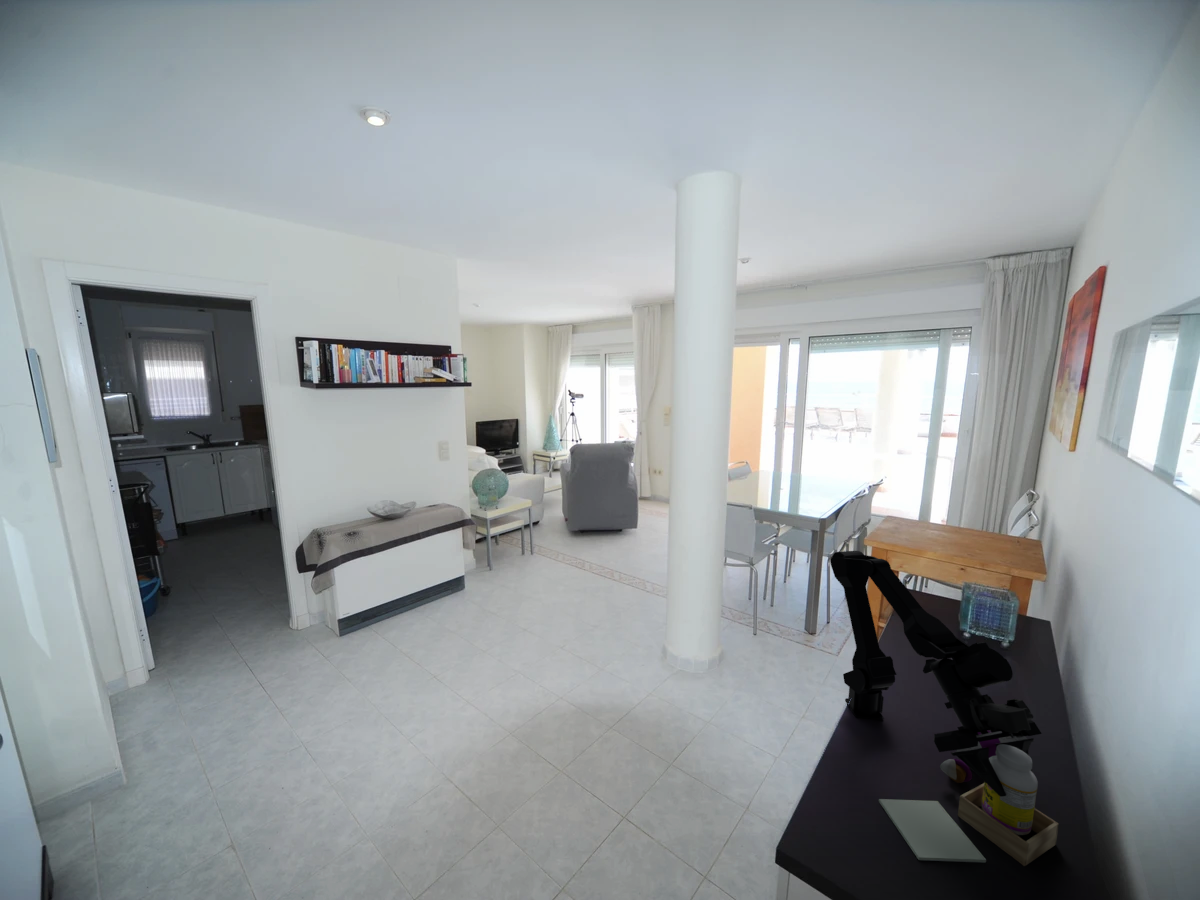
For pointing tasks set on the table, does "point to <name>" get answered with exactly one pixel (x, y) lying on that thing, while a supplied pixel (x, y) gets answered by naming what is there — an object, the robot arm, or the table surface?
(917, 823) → the sage mat
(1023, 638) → the table surface
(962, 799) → the wooden box
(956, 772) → the perfume bottle
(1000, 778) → the supplement bottle
